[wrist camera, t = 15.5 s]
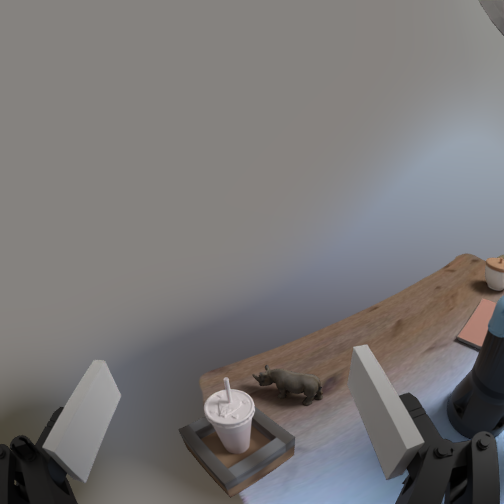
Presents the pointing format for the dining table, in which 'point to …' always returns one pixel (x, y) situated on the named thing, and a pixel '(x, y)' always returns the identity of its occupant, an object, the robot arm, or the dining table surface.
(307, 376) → the rhino figurine
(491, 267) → the lidded bowl
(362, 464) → the dining table surface
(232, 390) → the smoothie
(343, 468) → the dining table surface
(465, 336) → the notebook
